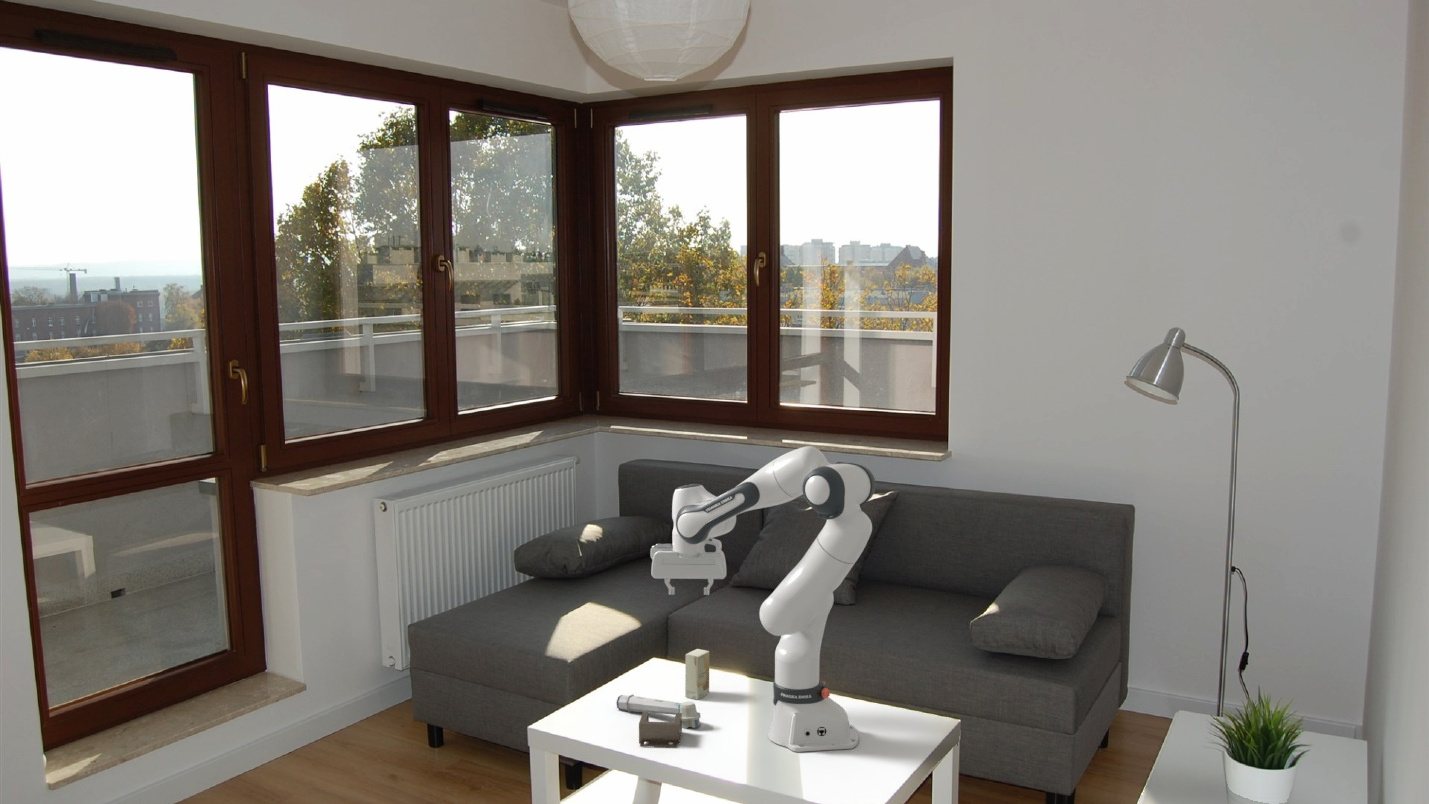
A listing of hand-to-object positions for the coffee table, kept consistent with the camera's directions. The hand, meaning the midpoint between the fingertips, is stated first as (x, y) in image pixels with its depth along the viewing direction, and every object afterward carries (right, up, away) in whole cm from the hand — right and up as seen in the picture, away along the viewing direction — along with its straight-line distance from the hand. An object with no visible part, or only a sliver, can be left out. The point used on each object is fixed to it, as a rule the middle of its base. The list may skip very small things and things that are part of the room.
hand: (689, 594), depth 289 cm
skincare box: (+2, -30, +9) cm, 31 cm away
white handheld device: (-8, -32, -7) cm, 33 cm away
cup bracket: (-7, -32, -20) cm, 39 cm away
